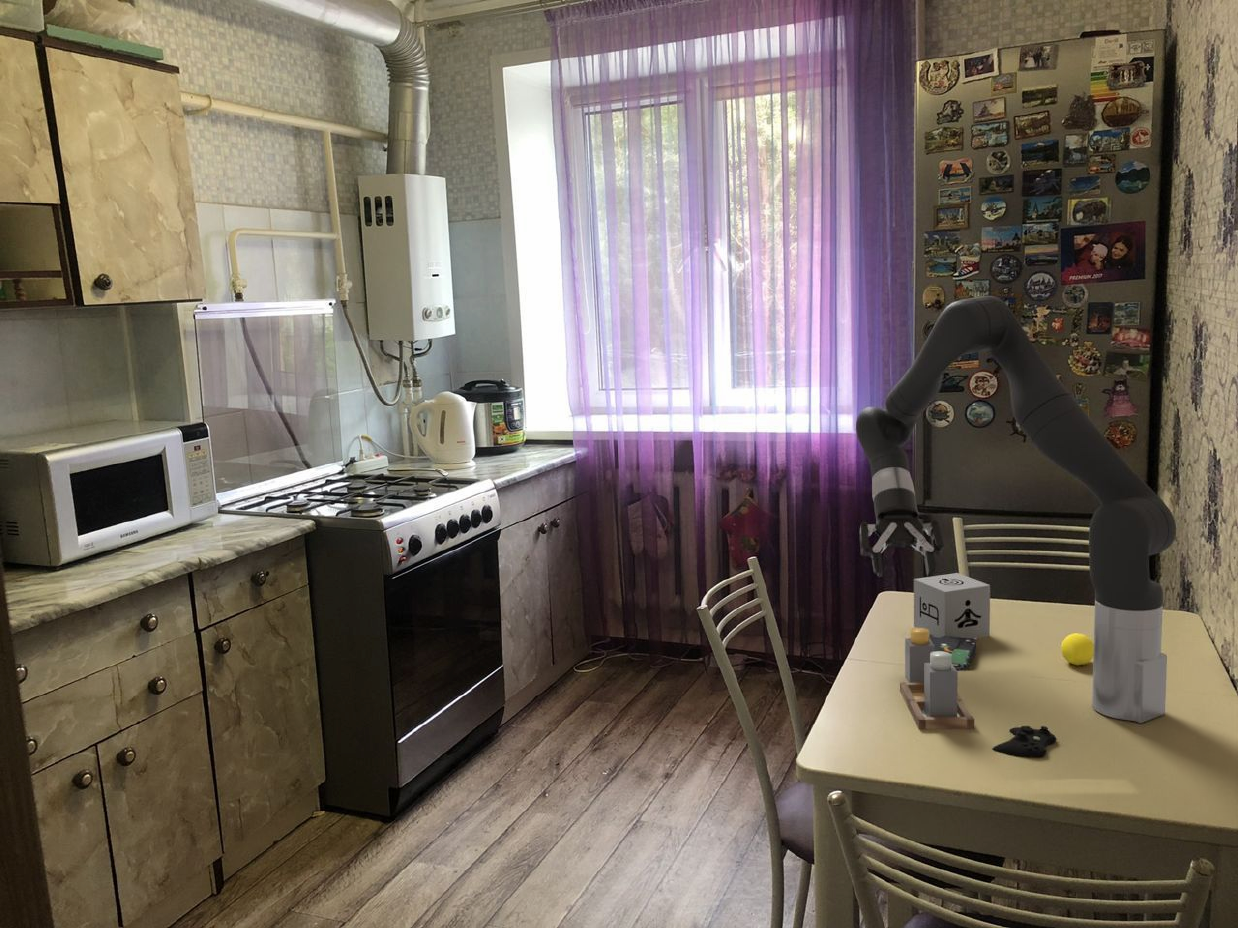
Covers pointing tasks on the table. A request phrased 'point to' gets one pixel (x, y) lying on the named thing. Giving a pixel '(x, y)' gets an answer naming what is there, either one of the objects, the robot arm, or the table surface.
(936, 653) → the plug grey
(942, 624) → the icon cube
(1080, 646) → the lemon
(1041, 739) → the game controller
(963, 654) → the disk drive
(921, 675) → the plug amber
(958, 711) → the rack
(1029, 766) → the table surface
